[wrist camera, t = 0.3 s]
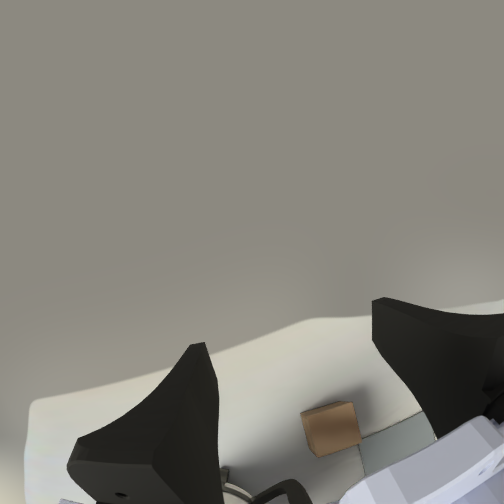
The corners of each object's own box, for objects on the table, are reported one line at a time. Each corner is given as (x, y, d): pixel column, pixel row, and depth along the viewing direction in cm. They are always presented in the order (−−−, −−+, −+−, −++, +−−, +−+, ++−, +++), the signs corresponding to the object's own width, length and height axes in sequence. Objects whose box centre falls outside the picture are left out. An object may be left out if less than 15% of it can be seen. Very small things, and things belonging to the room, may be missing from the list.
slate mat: (437, 470, 27) (439, 470, 27) (371, 504, 26) (372, 505, 26) (426, 408, 33) (428, 408, 32) (357, 440, 32) (358, 441, 31)
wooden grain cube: (347, 436, 32) (362, 442, 27) (309, 449, 31) (317, 457, 26) (339, 401, 35) (352, 401, 29) (300, 413, 34) (307, 416, 29)
